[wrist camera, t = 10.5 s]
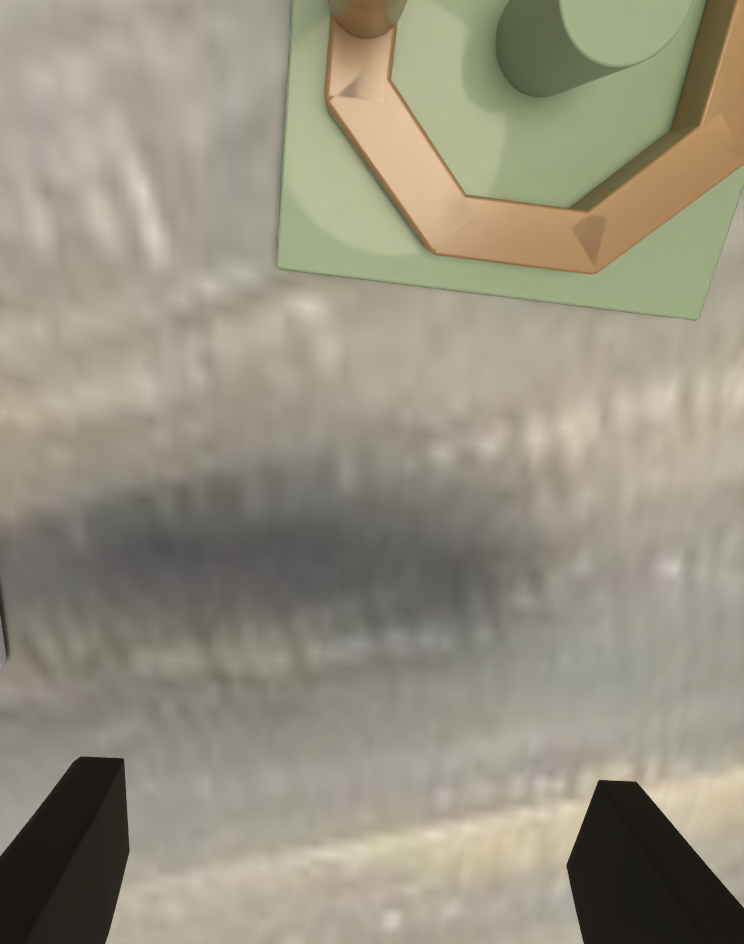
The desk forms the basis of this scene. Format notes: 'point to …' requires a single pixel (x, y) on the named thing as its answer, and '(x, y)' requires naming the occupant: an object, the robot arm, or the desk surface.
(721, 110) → the maple ring
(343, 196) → the peg stand
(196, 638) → the desk surface
